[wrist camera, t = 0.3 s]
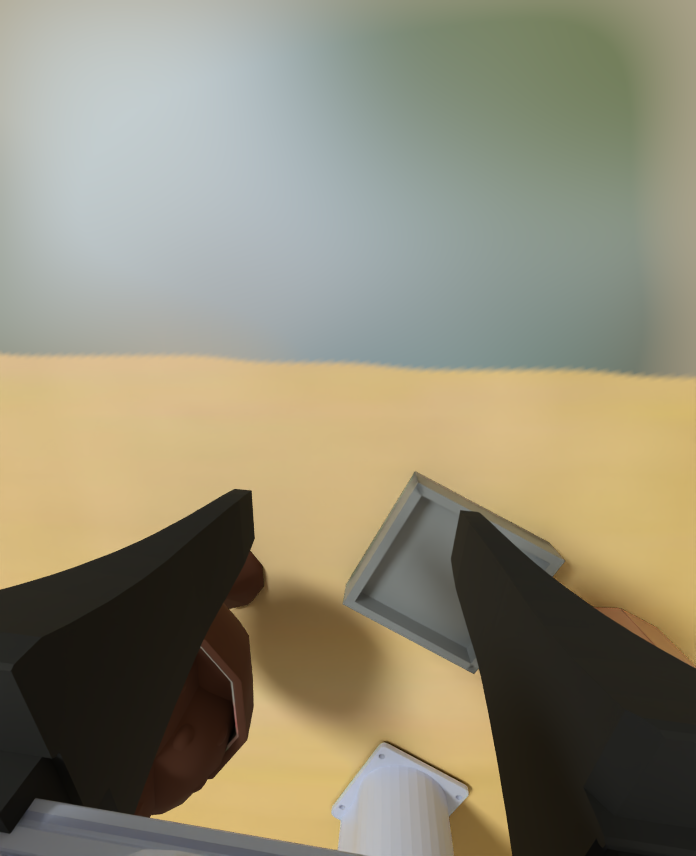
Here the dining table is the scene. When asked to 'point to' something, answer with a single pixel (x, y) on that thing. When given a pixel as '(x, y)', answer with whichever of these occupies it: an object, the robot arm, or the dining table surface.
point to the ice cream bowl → (207, 706)
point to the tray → (428, 569)
